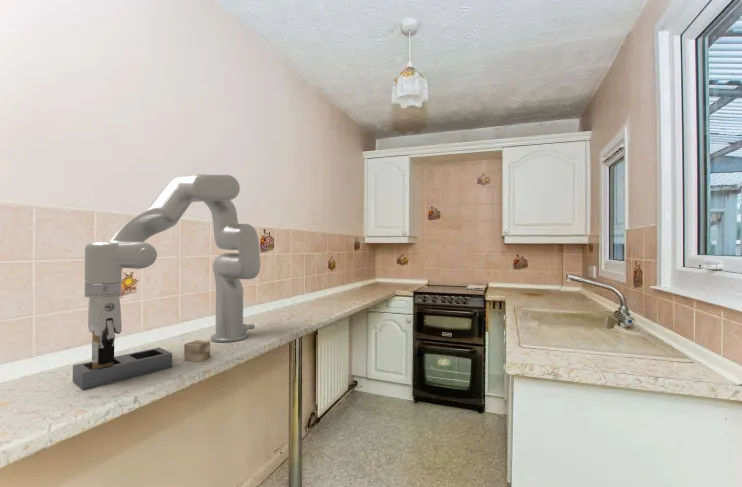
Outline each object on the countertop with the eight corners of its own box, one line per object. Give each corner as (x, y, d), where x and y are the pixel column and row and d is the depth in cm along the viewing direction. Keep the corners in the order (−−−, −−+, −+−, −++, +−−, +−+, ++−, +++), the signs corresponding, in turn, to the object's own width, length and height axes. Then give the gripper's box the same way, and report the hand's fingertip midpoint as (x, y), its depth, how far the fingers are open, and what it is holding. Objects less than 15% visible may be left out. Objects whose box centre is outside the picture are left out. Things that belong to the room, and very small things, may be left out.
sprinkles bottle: (112, 374, 89) (113, 321, 89) (90, 377, 86) (90, 323, 86) (114, 368, 93) (114, 318, 93) (92, 372, 90) (92, 320, 90)
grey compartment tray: (159, 360, 104) (159, 347, 104) (172, 367, 98) (172, 353, 98) (72, 381, 88) (72, 365, 88) (82, 390, 83) (82, 373, 83)
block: (197, 356, 109) (197, 340, 109) (210, 357, 108) (210, 341, 108) (184, 361, 104) (184, 344, 104) (197, 362, 103) (197, 345, 103)
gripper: (132, 291, 87) (131, 364, 87) (110, 286, 98) (109, 351, 98) (95, 294, 82) (94, 372, 81) (76, 288, 92) (75, 358, 92)
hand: (103, 360), depth 90 cm, fingers closed on sprinkles bottle, 4 cm apart
